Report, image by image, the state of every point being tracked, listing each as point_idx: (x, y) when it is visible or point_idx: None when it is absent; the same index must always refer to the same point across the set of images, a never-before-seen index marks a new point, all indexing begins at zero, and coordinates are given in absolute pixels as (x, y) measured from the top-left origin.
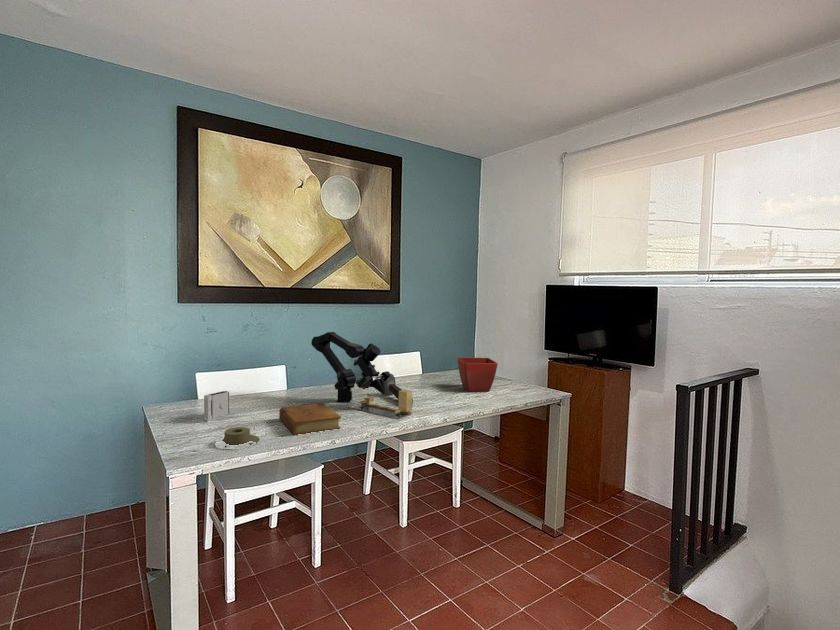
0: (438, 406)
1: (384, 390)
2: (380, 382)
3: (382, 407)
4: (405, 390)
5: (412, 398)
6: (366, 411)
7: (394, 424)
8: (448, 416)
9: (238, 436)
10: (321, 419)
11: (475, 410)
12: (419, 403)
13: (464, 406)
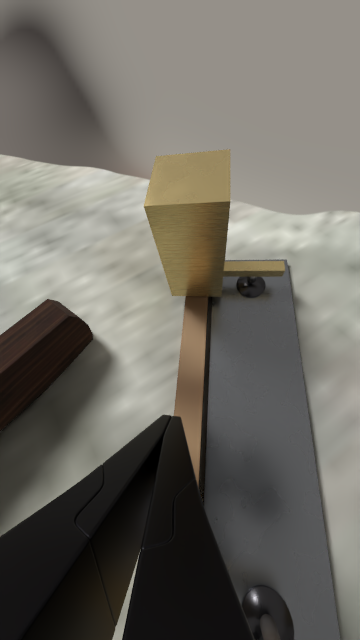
0: (37, 250)
1: (156, 427)
2: (148, 548)
3: (201, 422)
4: (175, 184)
5: (49, 300)
6: (318, 495)
7: (356, 239)
8: (143, 181)
9: None
10: None
11: (51, 169)
12: (10, 326)
13: (16, 201)
